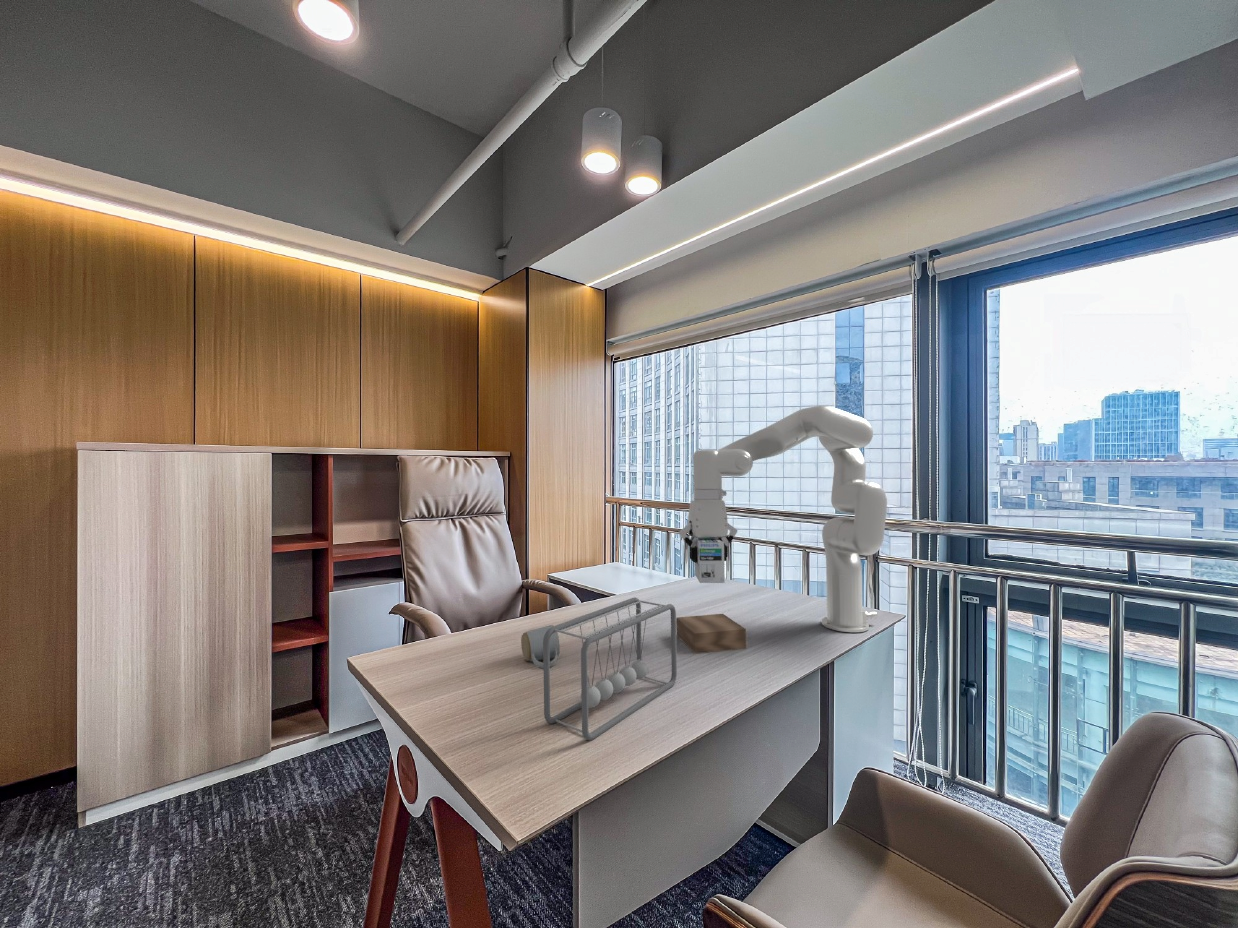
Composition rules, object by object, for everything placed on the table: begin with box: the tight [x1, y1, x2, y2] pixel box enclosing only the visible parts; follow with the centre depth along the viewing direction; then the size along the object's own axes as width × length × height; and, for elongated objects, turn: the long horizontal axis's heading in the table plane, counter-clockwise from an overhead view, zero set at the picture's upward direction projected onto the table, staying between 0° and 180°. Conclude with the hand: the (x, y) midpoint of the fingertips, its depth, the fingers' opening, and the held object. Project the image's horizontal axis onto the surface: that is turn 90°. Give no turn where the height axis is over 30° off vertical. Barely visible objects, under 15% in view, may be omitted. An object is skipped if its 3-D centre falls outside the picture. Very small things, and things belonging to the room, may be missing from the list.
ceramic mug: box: [520, 624, 561, 669], centre depth 122 cm, size 11×8×8 cm
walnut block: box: [676, 613, 747, 654], centre depth 133 cm, size 14×14×5 cm
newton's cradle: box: [542, 597, 678, 741], centre depth 99 cm, size 30×10×18 cm, turn 142°
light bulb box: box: [694, 538, 726, 584], centre depth 133 cm, size 11×7×11 cm, turn 179°
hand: (708, 560), depth 134 cm, fingers closed on light bulb box, 7 cm apart
